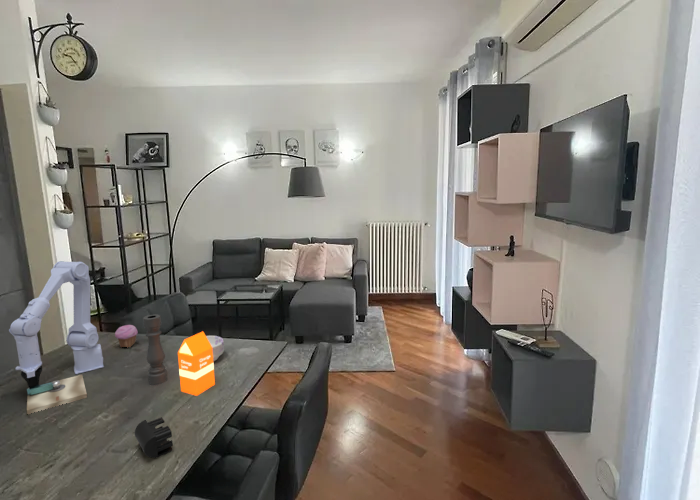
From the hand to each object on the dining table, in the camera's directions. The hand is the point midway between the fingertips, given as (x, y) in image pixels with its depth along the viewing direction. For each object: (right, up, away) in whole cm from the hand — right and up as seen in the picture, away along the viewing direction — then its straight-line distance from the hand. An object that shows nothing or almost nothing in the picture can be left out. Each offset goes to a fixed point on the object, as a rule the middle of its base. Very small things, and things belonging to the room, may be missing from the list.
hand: (34, 388), depth 135 cm
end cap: (+56, -7, -28) cm, 63 cm away
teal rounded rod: (+4, -1, 0) cm, 4 cm away
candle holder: (+38, -1, +10) cm, 40 cm away
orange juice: (+55, -1, +4) cm, 56 cm away
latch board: (+7, -2, +1) cm, 8 cm away
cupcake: (+9, +4, +42) cm, 43 cm away
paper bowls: (+50, +2, +28) cm, 57 cm away
